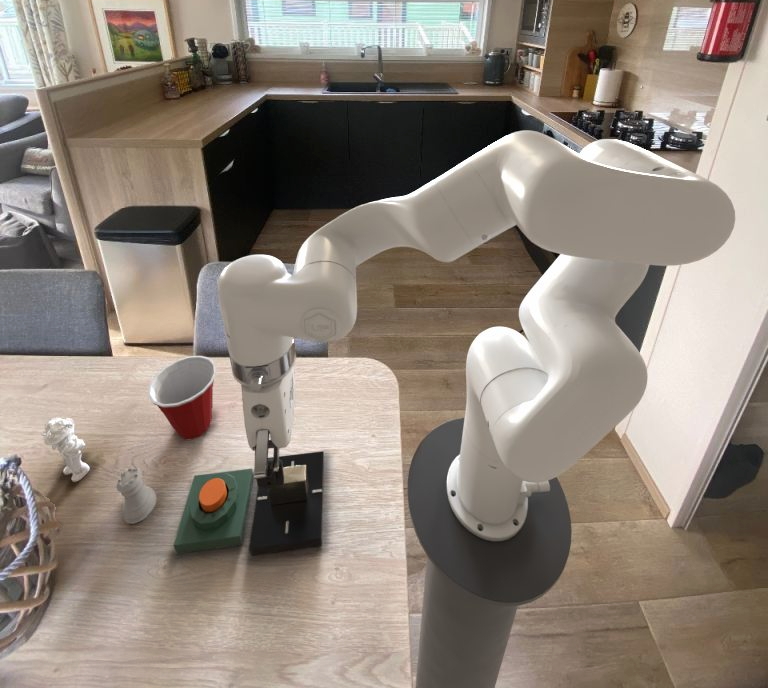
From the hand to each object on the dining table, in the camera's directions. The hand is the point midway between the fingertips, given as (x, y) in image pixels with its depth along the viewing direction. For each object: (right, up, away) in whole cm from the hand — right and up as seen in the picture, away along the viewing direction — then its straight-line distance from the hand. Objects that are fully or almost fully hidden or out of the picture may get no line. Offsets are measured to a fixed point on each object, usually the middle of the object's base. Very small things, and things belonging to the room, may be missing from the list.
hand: (276, 444), depth 54 cm
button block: (-11, -15, +6) cm, 19 cm away
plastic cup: (-20, -9, +19) cm, 29 cm away
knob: (0, -12, +6) cm, 14 cm away
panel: (0, -14, +7) cm, 16 cm away
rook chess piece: (-23, -14, +6) cm, 28 cm away
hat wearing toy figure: (-36, -12, +11) cm, 40 cm away
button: (-11, -11, +4) cm, 16 cm away
